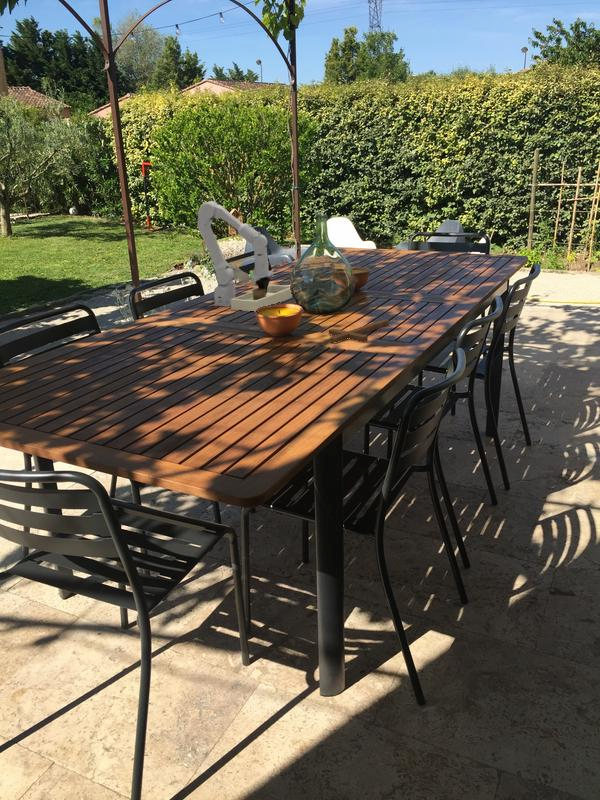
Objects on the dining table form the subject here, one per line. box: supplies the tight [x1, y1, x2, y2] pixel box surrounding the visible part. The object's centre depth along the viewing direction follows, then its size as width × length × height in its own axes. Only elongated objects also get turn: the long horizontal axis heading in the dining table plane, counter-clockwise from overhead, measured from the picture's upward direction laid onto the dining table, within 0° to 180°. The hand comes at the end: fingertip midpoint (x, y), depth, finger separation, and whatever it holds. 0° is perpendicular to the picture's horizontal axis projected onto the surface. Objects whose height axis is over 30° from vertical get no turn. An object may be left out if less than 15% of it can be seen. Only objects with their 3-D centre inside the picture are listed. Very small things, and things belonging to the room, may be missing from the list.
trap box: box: [230, 284, 293, 313], centre depth 283 cm, size 32×13×4 cm, turn 150°
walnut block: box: [252, 288, 266, 300], centre depth 279 cm, size 4×4×4 cm
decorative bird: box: [228, 261, 271, 286], centre depth 321 cm, size 24×10×15 cm
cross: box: [328, 319, 390, 343], centre depth 230 cm, size 16×2×30 cm
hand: (263, 295), depth 282 cm, fingers closed
